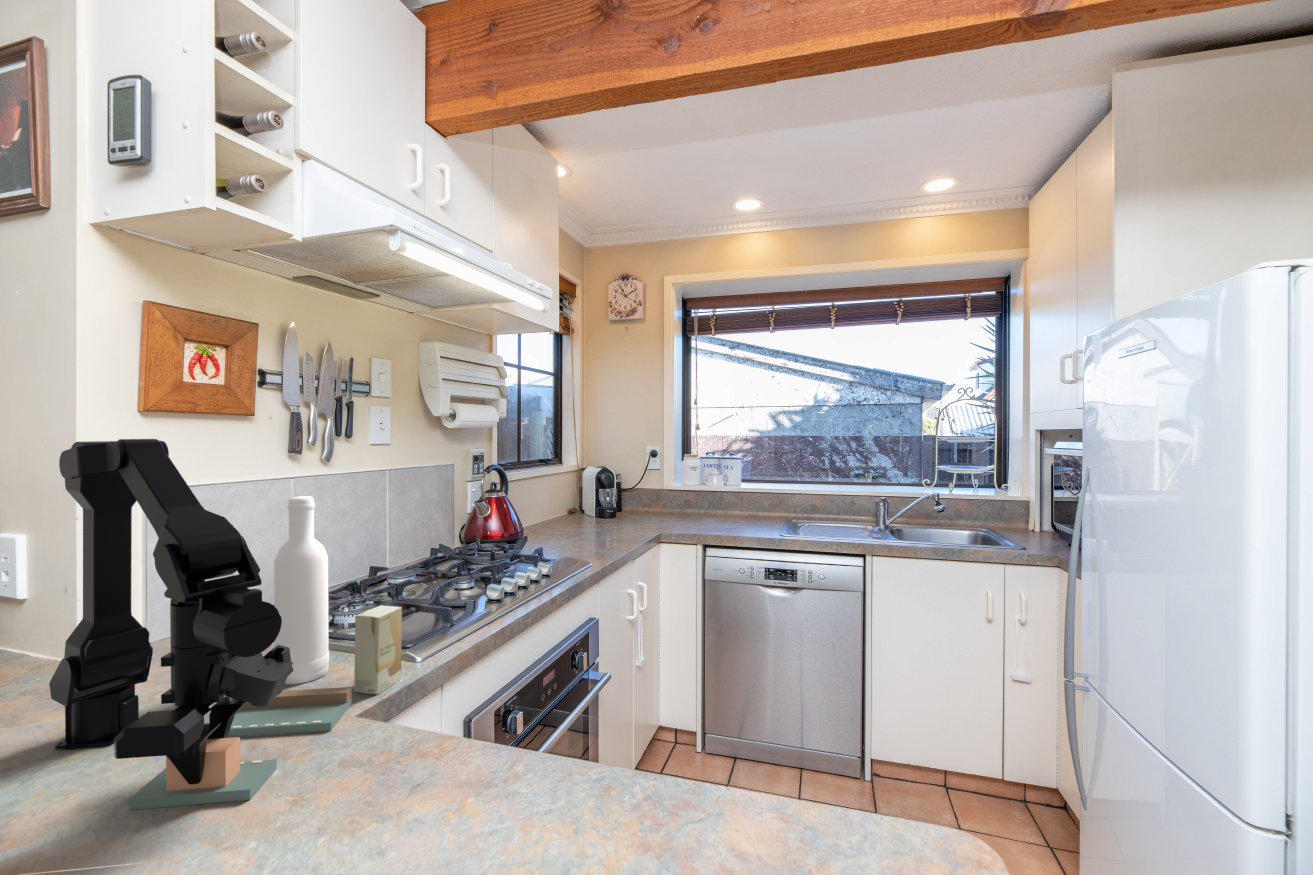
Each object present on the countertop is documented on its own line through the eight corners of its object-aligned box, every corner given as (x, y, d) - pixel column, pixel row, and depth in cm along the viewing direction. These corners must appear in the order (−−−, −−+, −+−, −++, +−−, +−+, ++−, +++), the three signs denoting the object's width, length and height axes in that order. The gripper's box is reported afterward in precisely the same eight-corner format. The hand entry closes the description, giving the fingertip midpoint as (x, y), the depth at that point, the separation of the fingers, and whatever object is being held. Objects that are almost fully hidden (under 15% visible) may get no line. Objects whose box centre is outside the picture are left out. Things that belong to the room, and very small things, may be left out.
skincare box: (377, 695, 91) (377, 617, 91) (353, 693, 92) (352, 615, 91) (403, 678, 97) (403, 605, 97) (380, 676, 98) (380, 603, 98)
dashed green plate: (185, 740, 78) (185, 720, 77) (221, 711, 85) (220, 693, 85) (331, 731, 80) (331, 711, 80) (352, 703, 88) (352, 686, 88)
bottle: (270, 689, 93) (270, 501, 92) (276, 670, 100) (275, 495, 99) (328, 679, 97) (327, 498, 96) (330, 662, 104) (329, 493, 103)
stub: (129, 809, 63) (128, 762, 63) (166, 776, 69) (166, 733, 69) (250, 799, 65) (249, 753, 65) (276, 768, 71) (276, 726, 71)
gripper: (234, 669, 59) (235, 822, 59) (314, 610, 77) (314, 727, 77) (109, 675, 57) (110, 833, 57) (221, 614, 75) (222, 733, 76)
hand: (204, 774), depth 67 cm, fingers closed on stub, 3 cm apart
